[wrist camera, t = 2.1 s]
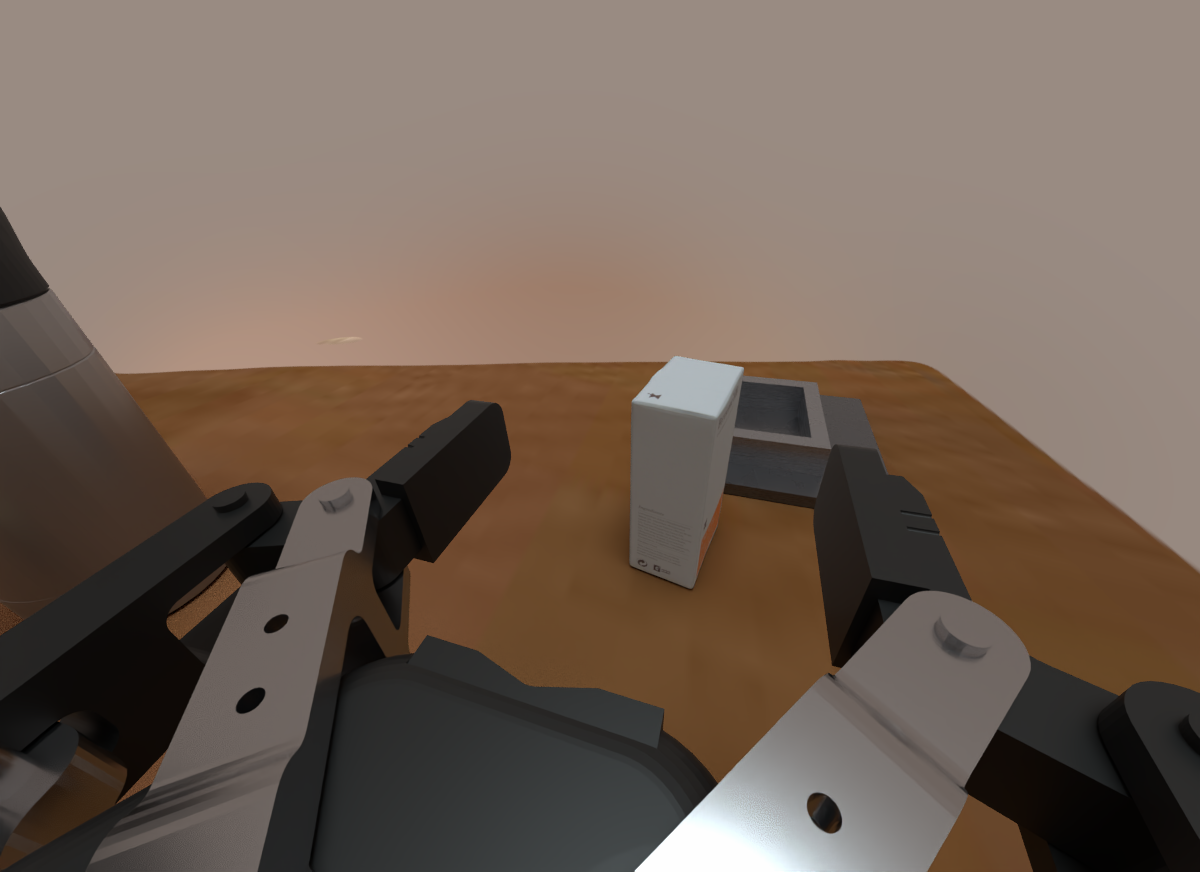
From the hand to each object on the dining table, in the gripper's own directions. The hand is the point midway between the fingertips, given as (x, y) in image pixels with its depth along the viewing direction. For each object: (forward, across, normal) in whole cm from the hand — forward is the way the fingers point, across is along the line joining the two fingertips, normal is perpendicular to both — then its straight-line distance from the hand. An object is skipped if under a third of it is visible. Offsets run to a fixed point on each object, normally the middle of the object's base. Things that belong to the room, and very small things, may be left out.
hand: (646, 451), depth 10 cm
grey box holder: (+26, -5, +15) cm, 30 cm away
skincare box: (+12, 0, +16) cm, 19 cm away
